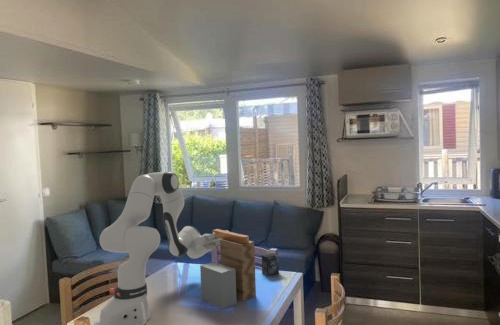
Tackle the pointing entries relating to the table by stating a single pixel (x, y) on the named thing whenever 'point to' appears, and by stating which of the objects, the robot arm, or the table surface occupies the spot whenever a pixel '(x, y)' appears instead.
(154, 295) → the table surface
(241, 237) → the bar
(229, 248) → the tall plinth
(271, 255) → the box
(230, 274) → the low plinth
